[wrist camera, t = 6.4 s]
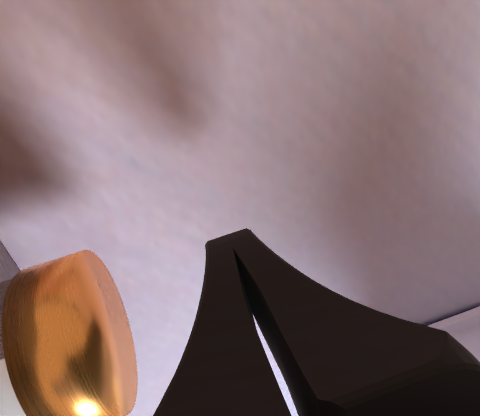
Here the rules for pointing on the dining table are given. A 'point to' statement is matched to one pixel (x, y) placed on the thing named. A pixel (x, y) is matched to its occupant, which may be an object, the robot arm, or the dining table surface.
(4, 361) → the shaft
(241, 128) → the dining table surface
